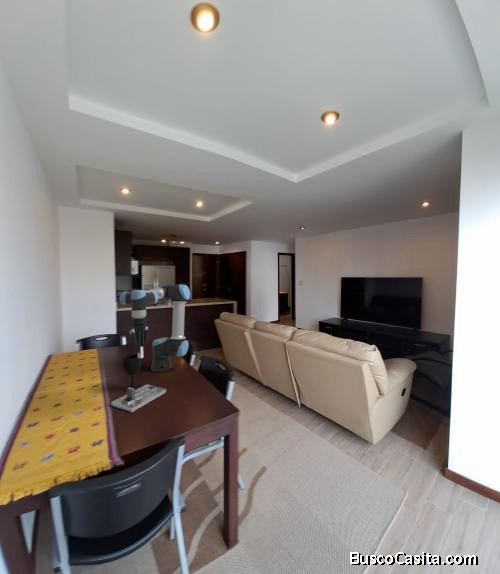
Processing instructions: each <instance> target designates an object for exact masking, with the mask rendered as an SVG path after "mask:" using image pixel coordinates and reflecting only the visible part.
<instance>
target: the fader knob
mask: <svg viewBox="0 0 500 574" xmlns="http://www.w3.org/2000/svg"><path fill="white" fill-rule="evenodd" d="M126 395H127V398H128V399H127V400H129V401H130V400H132V399H134V398H135V389H134V388H131V387H129V388H127V391H126Z"/></svg>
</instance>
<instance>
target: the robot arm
mask: <svg viewBox="0 0 500 574" xmlns="http://www.w3.org/2000/svg"><path fill="white" fill-rule="evenodd" d="M190 298H191V291H190V288H189V287H188V285H187V284H165V285H161V286H156V287H154V288H151V289H136V290H132V291H130V292H121V294H120V295H119V303H120V304H121V305H123V306H124V305H126V306H129V305H130V306H131V317H132V318H131V325H132V328H131V330H129V331H128V334H129V335H130V339H131V342H132V346H133V347H135V348H136V353H137V355H138V358H140V359H143V358H144V352H145V346H146V345H147V344H148V339H149V338H148V337H149V331H150V330H151V329H150V326H147V306H149V305H154V304H157V303H158V301H159V300H170V302H171V303H172V328H171V329H172V331H171V332H172V333H171V337H167V336H166V337H160V338H156V339H154V340H153V341H152V363H151V366H150V372H153V373H163V372H166V371H167V372H168V371H169V370H171V369H173V368H172V367H173V365H172V364H173V363H172V362H171V361H172V360H171V359H170V356H171V357H184V356H186V354H187V352H188V349H189V340H186V339H187V338H186V336H185V313H186V312H185V308H186V307H185V306H186V304H187V302H188V300H190Z"/></svg>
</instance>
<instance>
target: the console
mask: <svg viewBox="0 0 500 574" xmlns="http://www.w3.org/2000/svg"><path fill="white" fill-rule="evenodd" d="M166 393H167V388H164V387H159V386H155V385H151V384H145V385H143V386H142V387H141V388H139V389H137V390H135V398H134V399H132V400H130V401H129V400H127V399H128V398H127V394H124V395H123V396H121V397H118V398H117V399H115V400H113V401H110V405H111V407H114V408H117V409H121V410H123V411H127V412H130V413H134V411H136V410H138V409H139V408H142V407H143V406H145V405H147V404H149V403H151V401H153V400H155V399H157V398H159V397H160V396H162V395H164V394H166Z"/></svg>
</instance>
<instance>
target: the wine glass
mask: <svg viewBox="0 0 500 574" xmlns="http://www.w3.org/2000/svg"><path fill="white" fill-rule="evenodd" d="M141 359H142V358H138V354H128V355H125V356H124V357H123V361H122V369H123V371H124V372H125V373H126V374H127V375H129V376H130V378H131V383H130V384H129V385H126V386H124V388H123V391H125V392H127V388H129V387H131V388H134V389H135V390H137V389H139V388H141V387H143V386H142V384H140V383H134V377H135V375H136V374H137V373H138V372H139V371H140V370H141V366H142V360H141Z"/></svg>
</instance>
